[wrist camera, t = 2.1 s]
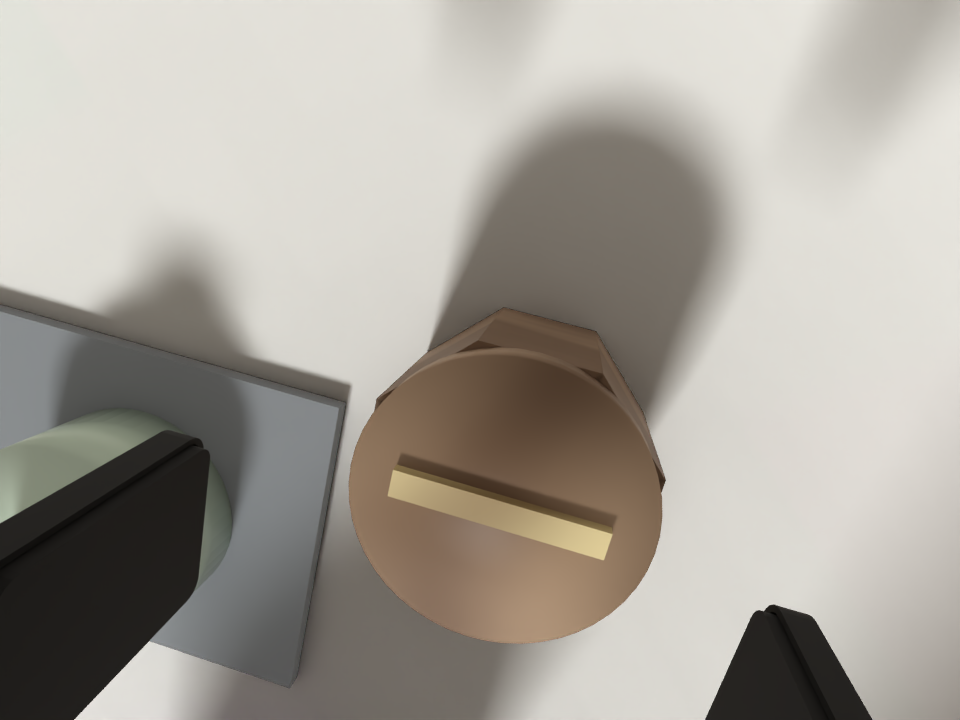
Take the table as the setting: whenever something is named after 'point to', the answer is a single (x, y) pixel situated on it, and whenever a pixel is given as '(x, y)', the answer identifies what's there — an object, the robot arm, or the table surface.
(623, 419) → the brown short round piece
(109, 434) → the jar
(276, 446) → the mat
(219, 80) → the table surface
